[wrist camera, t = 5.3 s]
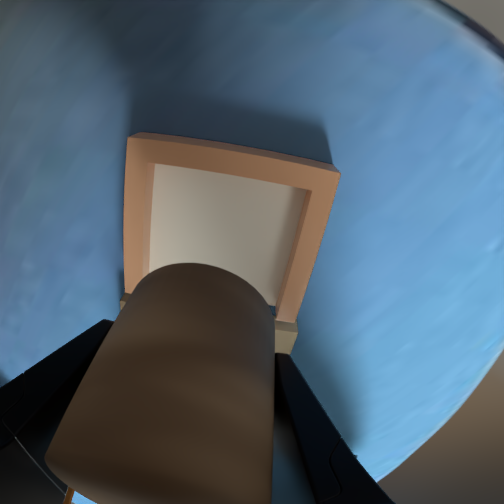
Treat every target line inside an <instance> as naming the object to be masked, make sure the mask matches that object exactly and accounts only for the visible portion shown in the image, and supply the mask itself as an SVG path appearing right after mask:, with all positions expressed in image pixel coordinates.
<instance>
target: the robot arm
mask: <svg viewBox="0 0 504 504" xmlns="http://www.w3.org/2000/svg"><path fill="white" fill-rule="evenodd" d="M113 324H114V321H110V320H106V319H103V320H101V321H100V322H98V323H97V324H95V325H94V326H92V327H91V328H89V329H88V330H86V331H84V332H83V333H81V334H80V335H78V336H77V337H75V338H74V339H72V340H71V341H69V342H68V343H66V344H65V345H63V346H62V347H60V348H59V349H57V350H56V351H54V352H53V353H51V354H50V355H48V356H47V357H45V358H44V359H43V360H41V361H40V362H38V363H37V364H35V365H34V366H32V367H31V368H29V369H28V370H26V371H25V372H24V374H23V373H22V374H20V375H19V376H17V377H16V378H14V379H13V380H11V381H10V382H8V383H7V384H5V385H4V386H2V387H0V504H63V502H64V499H65V494H66V492H67V489H68V485H66V484H65V483H64V482H62V481H61V480H60V479H59V478H58V477H57V476H56V475H55V474H54V473H53V472H52V471H51V470H50V469H49V467H48V466H47V464H46V462H45V458H44V457H45V454H46V452H47V450H48V448H49V445H50V443H51V441H52V439H53V437H54V435H55V433H56V431H57V428H58V426H59V424H60V422H61V420H62V418H63V416H64V414H65V412H66V410H67V408H68V406H69V404H70V402H71V400H72V398H73V396H74V394H75V392H76V390H77V389H78V387H79V385H80V383H81V381H82V379H83V377H84V375H85V373H86V372H87V370H88V368H89V366H90V364H91V362H92V361H93V359H94V357H95V355H96V353H97V352H98V350H99V348H100V346H101V344H102V343H103V341H104V339H105V337H106V336H107V334H108V332H109V330H110V329H111V327H112V325H113ZM271 504H396V503H395V502H393V501H392V500H391V499H390V498H389V497H388V495H387V494H386V493H385V492H384V491H383V490H382V489H381V487H380V486H379V485H378V484H377V483H376V482H375V480H374V479H373V478H372V477H371V476H370V475H369V474H368V472H367V471H366V470H365V469H364V467H363V466H362V465H361V464H360V462H359V461H358V460H357V459H356V457H355V456H354V454H353V453H352V452H351V450H350V449H349V447H348V446H347V444H346V443H345V441H344V440H343V438H341V435H340V434H339V432H338V430H337V429H336V427H335V426H334V424H333V423H332V421H331V420H330V418H329V417H328V415H327V413H326V412H325V410H324V409H323V407H322V406H321V404H320V402H319V401H318V399H317V398H316V396H315V395H314V393H313V391H312V390H311V388H310V387H309V385H308V384H307V382H306V380H305V379H304V377H303V376H302V374H301V373H300V371H299V369H298V368H297V366H296V365H295V363H294V361H293V360H292V358H291V357H290V355H289V354H286V353H279V352H277V353H275V384H274V436H273V472H272V501H271Z"/></svg>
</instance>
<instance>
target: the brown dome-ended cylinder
mask: <svg viewBox="0 0 504 504" xmlns="http://www.w3.org/2000/svg"><path fill="white" fill-rule="evenodd" d="M274 384H275V323H274V318H273V315H272V312H271V309H270V307H269V305H268V304H267V302H266V301H265V299H264V298H263V296H262V295H261V294H260V293H259V292H258V291H257V290H256V289H255V288H254V287H253V286H252V285H251V284H249V283H248V282H247V281H245V280H244V279H242V278H241V277H239V276H238V275H236V274H233V273H231V272H229V271H227V270H224V269H222V268H219V267H216V266H212V265H208V264H201V263H176V264H171V265H167V266H163V267H161V268H158V269H156V270H154V271H152V272H151V273H149V274H147V275H146V276H145V277H144V278H143V279H141V281H140V282H139V283H138V284H137V285H136V287H135V289H134V290H133V292H132V293H131V295H130V297H129V298H128V300H127V302H126V303H125V305H124V307H123V308H122V310H121V312H120V313H119V315H118V317H117V318H116V320H115V322H114V324H113V325H112V327H111V329H110V330H109V332H108V334H107V336H106V337H105V339H104V341H103V343H102V344H101V346H100V348H99V350H98V352H97V353H96V355H95V357H94V359H93V361H92V362H91V364H90V366H89V368H88V370H87V372H86V373H85V375H84V377H83V379H82V381H81V383H80V385H79V387H78V389H77V390H76V392H75V394H74V396H73V398H72V400H71V402H70V404H69V406H68V408H67V410H66V412H65V414H64V416H63V418H62V420H61V422H60V424H59V426H58V428H57V431H56V433H55V435H54V437H53V439H52V441H51V443H50V445H49V448H48V450H47V452H46V454H45V457H44V458H45V462H46V464H47V466H48V467H49V469H50V470H51V471H52V472H53V473H54V474H55V475H56V476H57V477H58V478H59V479H60V480H61V481H62V482H64V483H65V484H66V485H68V486H69V487H70V488H72V489H73V490H75V491H76V492H78V493H80V494H81V495H83V496H84V497H86V498H88V499H90V500H92V501H93V502H95V503H97V504H271V501H272V472H273V436H274Z"/></svg>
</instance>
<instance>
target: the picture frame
mask: <svg viewBox="0 0 504 504" xmlns="http://www.w3.org/2000/svg"><path fill="white" fill-rule="evenodd" d="M340 175H341V173H340V172H339V171H338V170H337V168H336V167H335V166H334V165H332V164H328V163H324V162H320V161H316V160H311V159H307V158H302V157H298V156H293V155H288V154H283V153H278V152H273V151H268V150H263V149H258V148H252V147H247V146H241V145H235V144H229V143H223V142H217V141H210V140H203V139H196V138H189V137H182V136H174V135H165V134H156V133H147V132H139V133H137V134H134V135H132V136H129V137H128V139H127V152H126V167H125V187H124V280H125V293H130V294H131V293H132V292H133V290H134V289H135V287H136V285H137V284H138V283H139V282H140V281H141V279H143V278H144V277H145V276H146V275H147V274H149V273H151V272H152V271H154V270H156V269H158V268H161V267H163V266H167V265H171V264H176V263H201V264H208V265H212V266H216V267H219V268H222V269H224V270H227V271H229V272H231V273H233V274H236V275H238V276H239V277H241V278H242V279H244V280H245V281H247V282H248V283H249V284H251V285H252V286H253V287H254V288H255V289H256V290H257V291H258V292H259V293H260V294H261V295H262V296H263V298H264V299H265V301H266V302H267V304H268V305H272V306H275V309H276V320H278V321H285V322H292V323H295V321H296V318H297V315H298V312H299V309H300V306H301V303H302V300H303V297H304V294H305V291H306V288H307V285H308V282H309V279H310V276H311V273H312V270H313V267H314V263H315V260H316V257H317V254H318V251H319V247H320V244H321V241H322V238H323V234H324V231H325V228H326V224H327V221H328V218H329V214H330V211H331V207H332V204H333V200H334V197H335V193H336V190H337V186H338V183H339V179H340Z"/></svg>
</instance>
